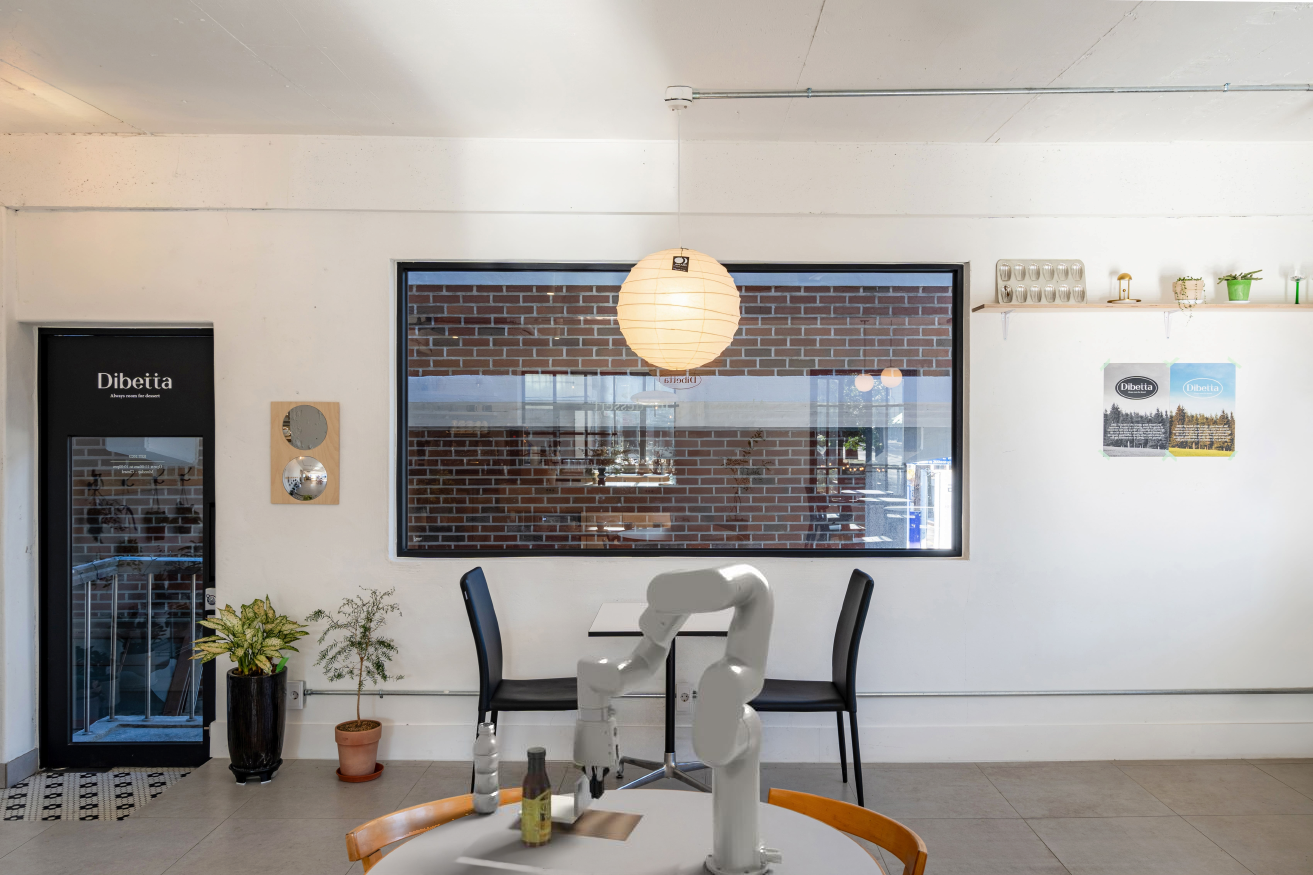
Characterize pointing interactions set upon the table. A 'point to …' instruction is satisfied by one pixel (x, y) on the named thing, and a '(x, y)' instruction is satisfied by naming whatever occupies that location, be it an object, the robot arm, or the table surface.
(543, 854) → the table surface
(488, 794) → the silver water bottle
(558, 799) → the white bracket
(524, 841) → the sauce bottle
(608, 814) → the clip board
